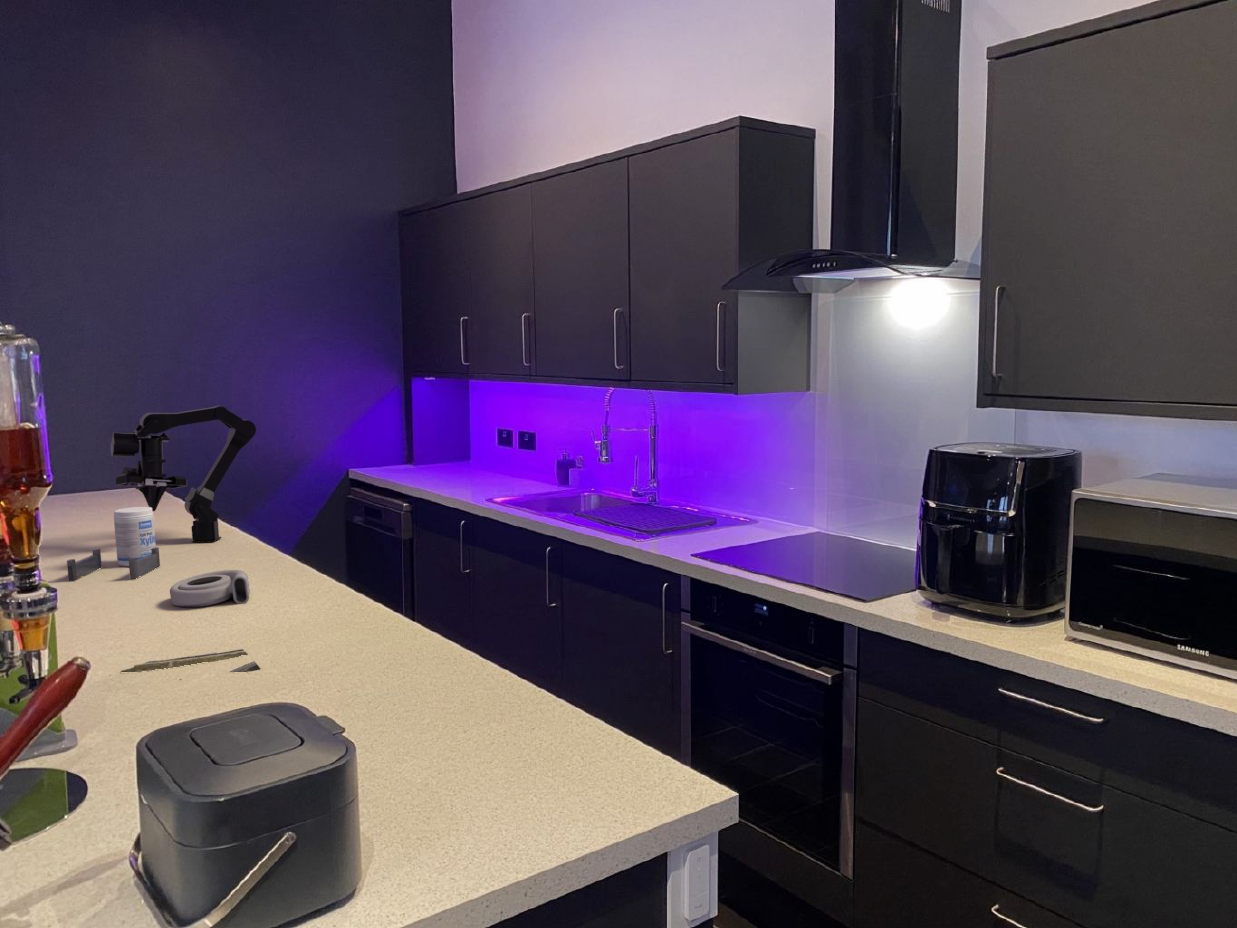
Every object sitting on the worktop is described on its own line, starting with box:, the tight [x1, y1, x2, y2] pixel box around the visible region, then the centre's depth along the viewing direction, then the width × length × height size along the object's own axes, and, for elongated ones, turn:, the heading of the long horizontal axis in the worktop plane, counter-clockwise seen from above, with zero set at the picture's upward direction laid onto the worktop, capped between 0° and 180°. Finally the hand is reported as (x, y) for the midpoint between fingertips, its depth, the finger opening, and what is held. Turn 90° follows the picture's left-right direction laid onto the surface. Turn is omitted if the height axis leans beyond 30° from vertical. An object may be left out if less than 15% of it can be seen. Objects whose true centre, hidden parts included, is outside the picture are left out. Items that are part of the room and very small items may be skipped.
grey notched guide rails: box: [66, 546, 161, 582], centre depth 251 cm, size 16×14×5 cm
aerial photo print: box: [120, 648, 261, 681], centre depth 173 cm, size 25×19×2 cm
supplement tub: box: [113, 506, 157, 567], centre depth 263 cm, size 10×10×15 cm
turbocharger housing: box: [169, 569, 251, 608], centre depth 224 cm, size 17×6×15 cm
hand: (152, 511), depth 279 cm, fingers closed
